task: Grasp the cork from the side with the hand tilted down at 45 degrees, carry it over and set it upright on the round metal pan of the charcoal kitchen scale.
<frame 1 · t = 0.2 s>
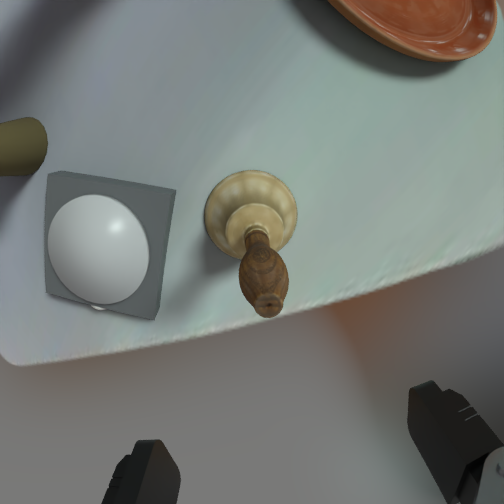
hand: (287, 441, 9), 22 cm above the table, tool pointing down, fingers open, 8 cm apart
hand bell: (251, 215, 29), on the table
cork: (26, 146, 26), on the table
scale: (107, 240, 29), on the table
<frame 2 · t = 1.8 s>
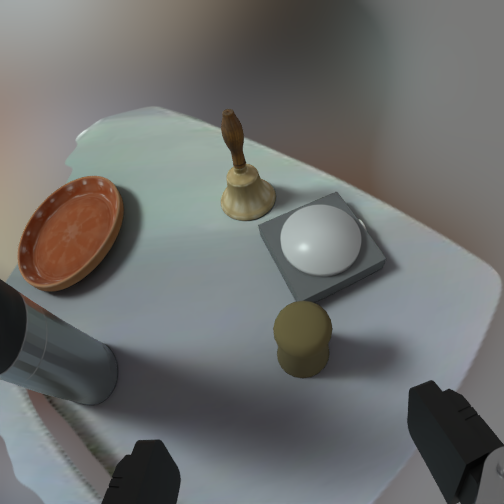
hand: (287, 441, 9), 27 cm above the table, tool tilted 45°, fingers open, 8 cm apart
hand bell: (248, 199, 49), on the table
saucer: (74, 237, 51), on the table
cork: (303, 353, 36), on the table
scale: (320, 251, 42), on the table
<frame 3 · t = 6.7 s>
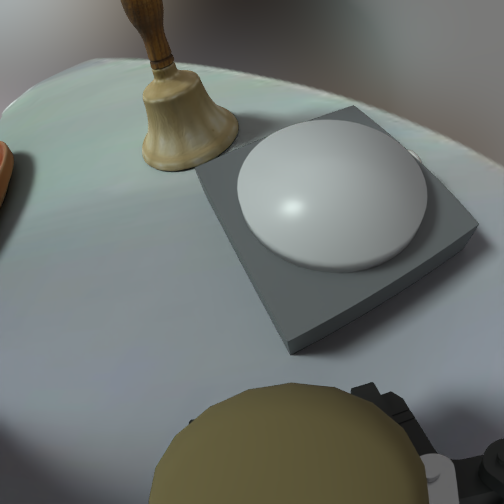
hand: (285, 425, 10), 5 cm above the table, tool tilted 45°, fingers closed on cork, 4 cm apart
hand bell: (190, 138, 26), on the table
cork: (299, 462, 13), on the table, touching gripper
scale: (331, 217, 19), on the table
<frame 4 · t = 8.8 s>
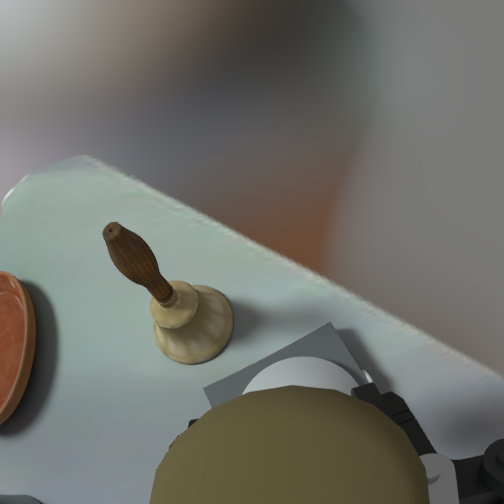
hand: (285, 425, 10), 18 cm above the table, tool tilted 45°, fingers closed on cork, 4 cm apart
hand bell: (193, 324, 31), on the table
cork: (301, 462, 13), point 13 cm above the table, touching gripper
scale: (302, 419, 25), on the table
when the fingers open (9 cm above the table, at t = 11.1 s): cork moves 2 cm, resting on scale.
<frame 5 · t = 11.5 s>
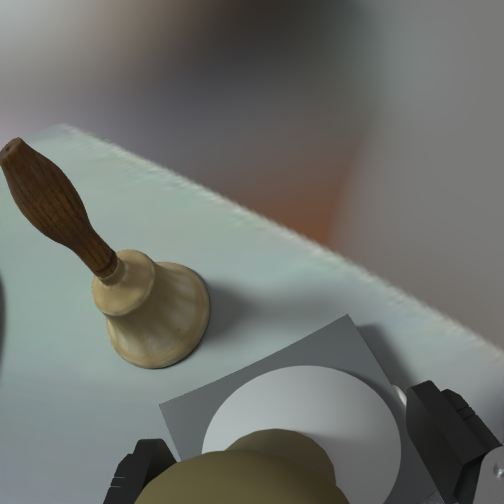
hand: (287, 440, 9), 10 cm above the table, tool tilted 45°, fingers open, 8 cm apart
hand bell: (157, 314, 23), on the table
cork: (273, 483, 13), point 3 cm above the table, touching scale
scale: (302, 454, 16), on the table
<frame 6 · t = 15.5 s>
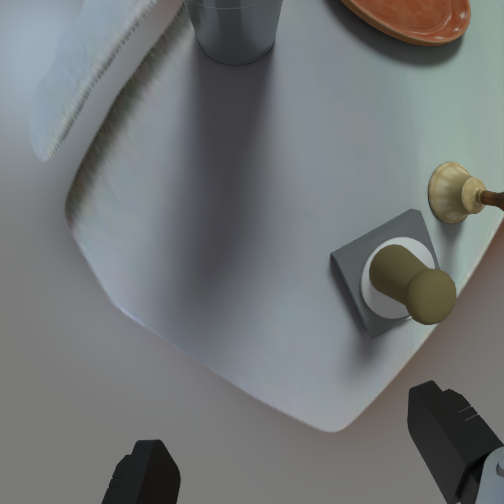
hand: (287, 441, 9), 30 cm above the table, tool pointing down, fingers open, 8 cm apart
hand bell: (451, 192, 37), on the table
cork: (391, 269, 36), point 3 cm above the table, touching scale
scale: (389, 271, 39), on the table
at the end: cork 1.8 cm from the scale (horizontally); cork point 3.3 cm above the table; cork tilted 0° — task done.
